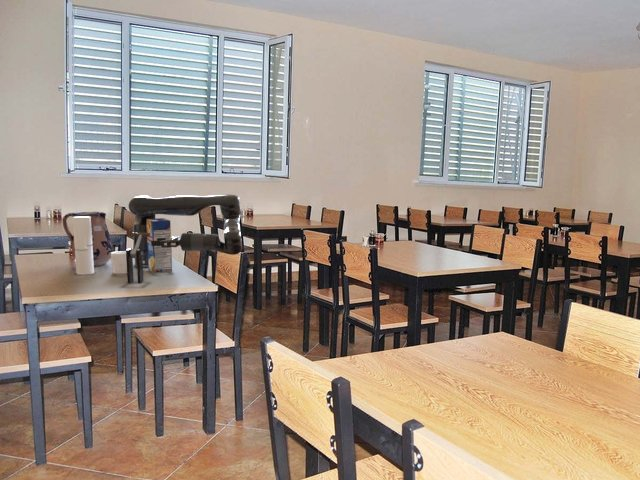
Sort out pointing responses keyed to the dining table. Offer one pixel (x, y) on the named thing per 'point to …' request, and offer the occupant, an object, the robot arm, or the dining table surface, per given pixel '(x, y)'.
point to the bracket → (130, 266)
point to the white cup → (119, 262)
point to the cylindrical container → (83, 245)
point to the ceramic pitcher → (94, 236)
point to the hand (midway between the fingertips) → (154, 241)
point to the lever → (138, 242)
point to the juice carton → (156, 254)
